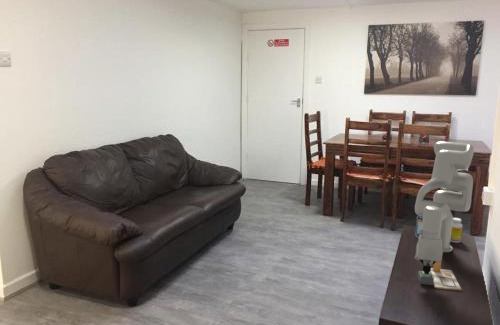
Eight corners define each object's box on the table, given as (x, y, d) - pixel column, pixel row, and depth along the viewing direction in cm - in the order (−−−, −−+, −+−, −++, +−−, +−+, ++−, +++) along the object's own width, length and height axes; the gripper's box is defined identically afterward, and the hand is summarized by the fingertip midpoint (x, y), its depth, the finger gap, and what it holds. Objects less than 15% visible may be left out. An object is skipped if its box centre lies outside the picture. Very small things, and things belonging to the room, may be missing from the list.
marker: (432, 268, 196) (434, 248, 194) (439, 269, 195) (442, 249, 193) (433, 271, 193) (436, 251, 190) (440, 272, 192) (443, 252, 190)
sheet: (426, 268, 197) (426, 266, 197) (451, 271, 195) (451, 269, 195) (434, 288, 179) (435, 286, 179) (462, 291, 177) (462, 289, 176)
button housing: (417, 277, 188) (418, 270, 187) (430, 279, 187) (431, 272, 186) (420, 283, 183) (420, 276, 182) (433, 285, 182) (433, 277, 181)
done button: (420, 278, 187) (421, 270, 186) (429, 279, 186) (430, 271, 185) (421, 282, 183) (422, 274, 183) (430, 283, 183) (431, 275, 182)
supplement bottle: (462, 243, 226) (465, 221, 224) (449, 242, 228) (451, 220, 225) (458, 239, 233) (461, 217, 230) (446, 238, 234) (448, 216, 231)
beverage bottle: (424, 233, 241) (427, 200, 236) (434, 238, 233) (438, 204, 228) (411, 234, 238) (415, 201, 234) (421, 240, 230) (425, 206, 226)
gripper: (413, 235, 178) (409, 274, 182) (451, 239, 175) (446, 278, 179) (411, 229, 185) (407, 267, 189) (447, 232, 182) (442, 271, 186)
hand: (426, 272), depth 184 cm, fingers closed
